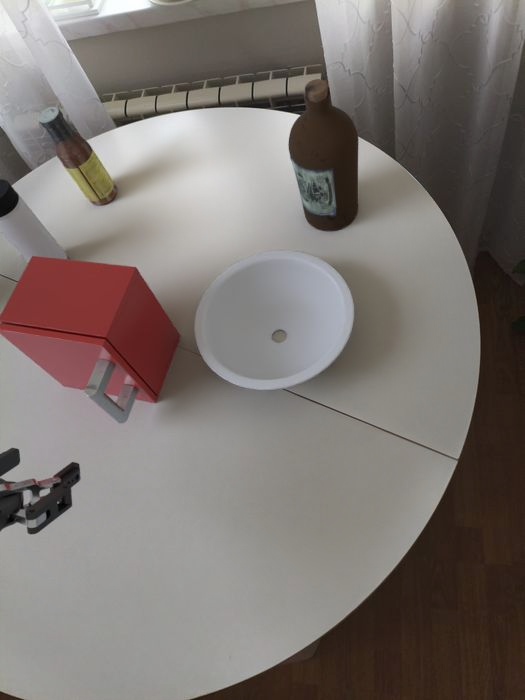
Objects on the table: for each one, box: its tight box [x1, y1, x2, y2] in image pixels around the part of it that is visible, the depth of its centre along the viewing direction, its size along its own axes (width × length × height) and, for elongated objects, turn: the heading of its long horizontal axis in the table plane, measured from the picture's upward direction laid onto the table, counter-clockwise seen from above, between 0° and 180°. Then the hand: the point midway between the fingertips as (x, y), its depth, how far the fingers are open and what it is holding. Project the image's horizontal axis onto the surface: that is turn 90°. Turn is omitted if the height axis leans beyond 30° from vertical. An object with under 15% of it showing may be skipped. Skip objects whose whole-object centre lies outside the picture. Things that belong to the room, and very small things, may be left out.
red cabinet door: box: [0, 323, 159, 424], centre depth 79 cm, size 6×17×19 cm, turn 75°
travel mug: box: [0, 178, 70, 264], centre depth 96 cm, size 6×7×20 cm
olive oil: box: [287, 78, 359, 232], centre depth 87 cm, size 11×11×25 cm
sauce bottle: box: [37, 106, 117, 206], centre depth 102 cm, size 7×6×20 cm
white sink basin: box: [193, 250, 355, 391], centre depth 85 cm, size 24×24×7 cm
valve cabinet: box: [0, 256, 182, 397], centre depth 83 cm, size 11×17×19 cm, turn 75°
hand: (46, 461), depth 66 cm, fingers open, 8 cm apart
